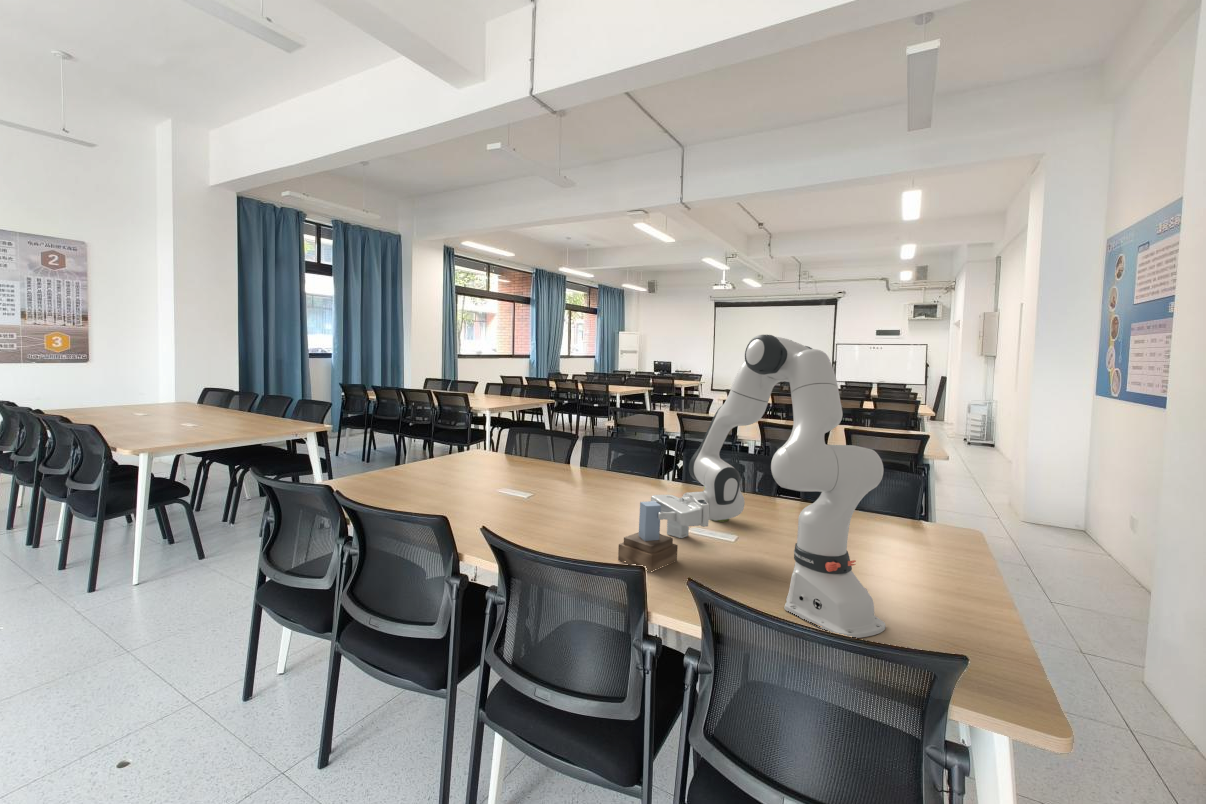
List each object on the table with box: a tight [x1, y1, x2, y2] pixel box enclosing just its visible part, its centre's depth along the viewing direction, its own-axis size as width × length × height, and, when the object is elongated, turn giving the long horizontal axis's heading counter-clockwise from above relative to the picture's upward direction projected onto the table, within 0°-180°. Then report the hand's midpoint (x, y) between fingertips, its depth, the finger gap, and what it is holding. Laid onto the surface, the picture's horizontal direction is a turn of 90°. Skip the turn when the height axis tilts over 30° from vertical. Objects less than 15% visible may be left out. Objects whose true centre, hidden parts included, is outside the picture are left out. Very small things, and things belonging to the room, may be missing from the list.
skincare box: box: [666, 520, 690, 539], centre depth 179 cm, size 6×4×12 cm
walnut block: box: [617, 531, 678, 573], centre depth 157 cm, size 12×12×7 cm
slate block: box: [638, 500, 661, 541], centre depth 156 cm, size 4×4×10 cm
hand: (650, 511), depth 156 cm, fingers open, 8 cm apart
